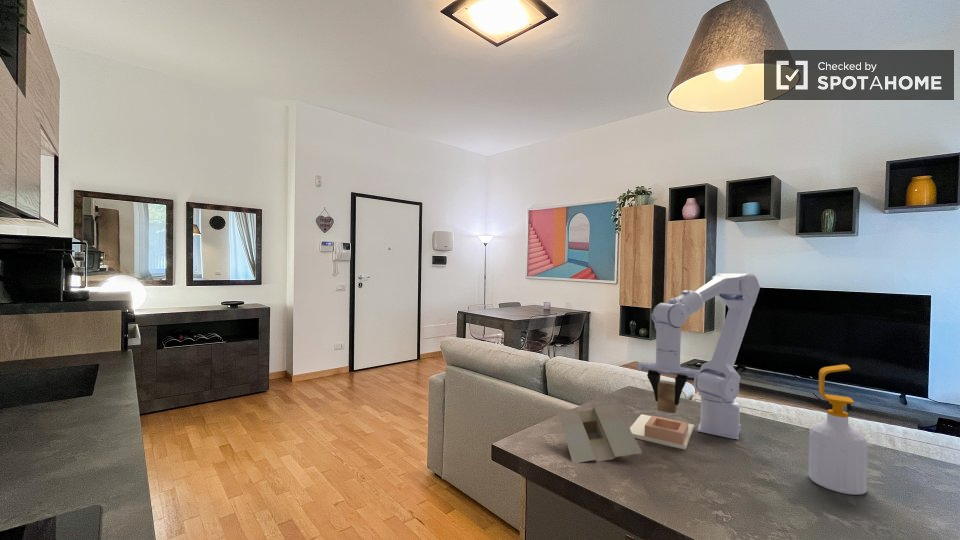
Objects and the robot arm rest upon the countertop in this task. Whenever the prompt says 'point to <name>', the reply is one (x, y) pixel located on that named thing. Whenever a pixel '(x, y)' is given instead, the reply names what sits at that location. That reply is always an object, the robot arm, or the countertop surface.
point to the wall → (597, 434)
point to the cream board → (639, 433)
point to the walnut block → (666, 396)
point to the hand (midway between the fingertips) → (667, 402)
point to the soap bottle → (837, 446)
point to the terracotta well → (666, 430)
